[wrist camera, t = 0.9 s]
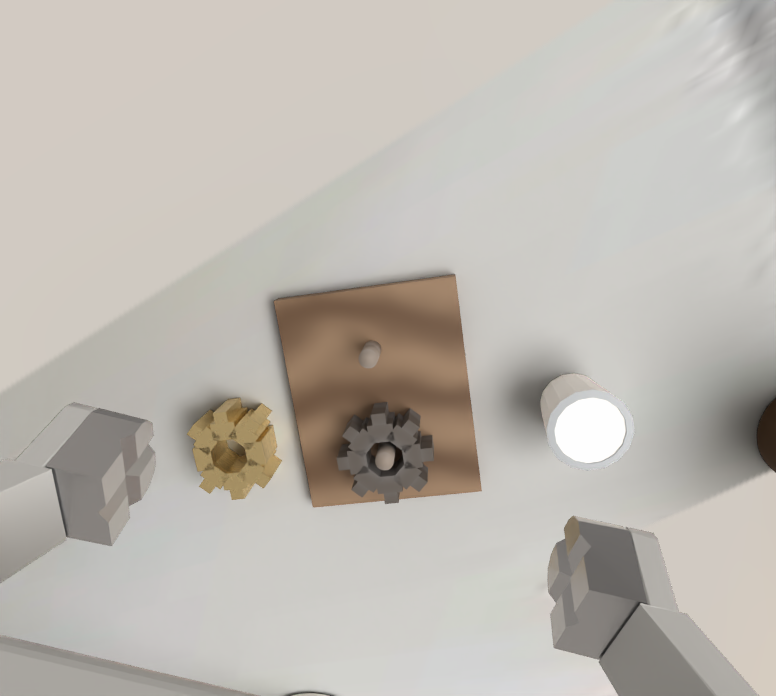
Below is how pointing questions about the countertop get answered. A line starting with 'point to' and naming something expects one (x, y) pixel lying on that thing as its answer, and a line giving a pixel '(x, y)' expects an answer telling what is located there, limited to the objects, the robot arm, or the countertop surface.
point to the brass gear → (225, 463)
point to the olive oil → (768, 435)
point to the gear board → (381, 391)
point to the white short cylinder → (585, 422)
